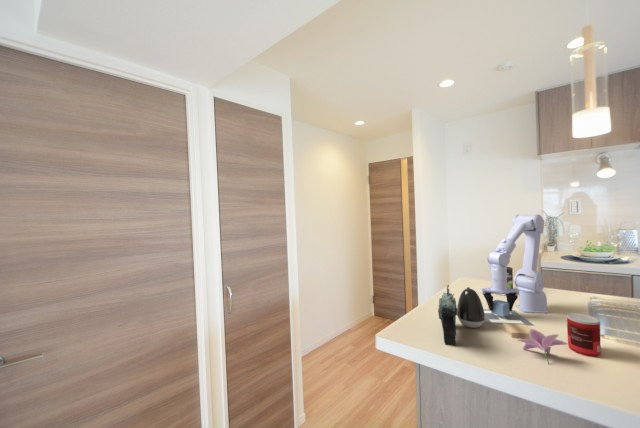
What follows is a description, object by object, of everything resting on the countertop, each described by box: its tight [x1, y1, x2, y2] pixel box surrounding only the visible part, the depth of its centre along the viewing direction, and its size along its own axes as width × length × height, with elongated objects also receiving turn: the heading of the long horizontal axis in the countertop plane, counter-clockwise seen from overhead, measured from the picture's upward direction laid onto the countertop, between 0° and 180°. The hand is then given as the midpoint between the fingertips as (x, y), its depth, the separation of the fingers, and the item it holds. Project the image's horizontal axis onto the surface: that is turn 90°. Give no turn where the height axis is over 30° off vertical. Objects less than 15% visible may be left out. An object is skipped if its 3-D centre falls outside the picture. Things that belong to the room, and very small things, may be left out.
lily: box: [517, 328, 568, 365], centre depth 83 cm, size 12×12×10 cm
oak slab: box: [502, 323, 531, 340], centre depth 99 cm, size 8×8×2 cm
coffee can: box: [490, 265, 514, 296], centre depth 146 cm, size 10×10×14 cm
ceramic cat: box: [437, 284, 457, 347], centre depth 101 cm, size 20×6×20 cm, turn 154°
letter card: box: [483, 308, 536, 327], centre depth 115 cm, size 18×16×1 cm
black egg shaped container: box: [456, 287, 485, 329], centre depth 108 cm, size 10×10×15 cm
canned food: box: [566, 312, 602, 358], centre depth 86 cm, size 8×8×11 cm
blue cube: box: [491, 299, 510, 317], centre depth 115 cm, size 5×5×5 cm
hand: (500, 310), depth 115 cm, fingers closed on blue cube, 7 cm apart
